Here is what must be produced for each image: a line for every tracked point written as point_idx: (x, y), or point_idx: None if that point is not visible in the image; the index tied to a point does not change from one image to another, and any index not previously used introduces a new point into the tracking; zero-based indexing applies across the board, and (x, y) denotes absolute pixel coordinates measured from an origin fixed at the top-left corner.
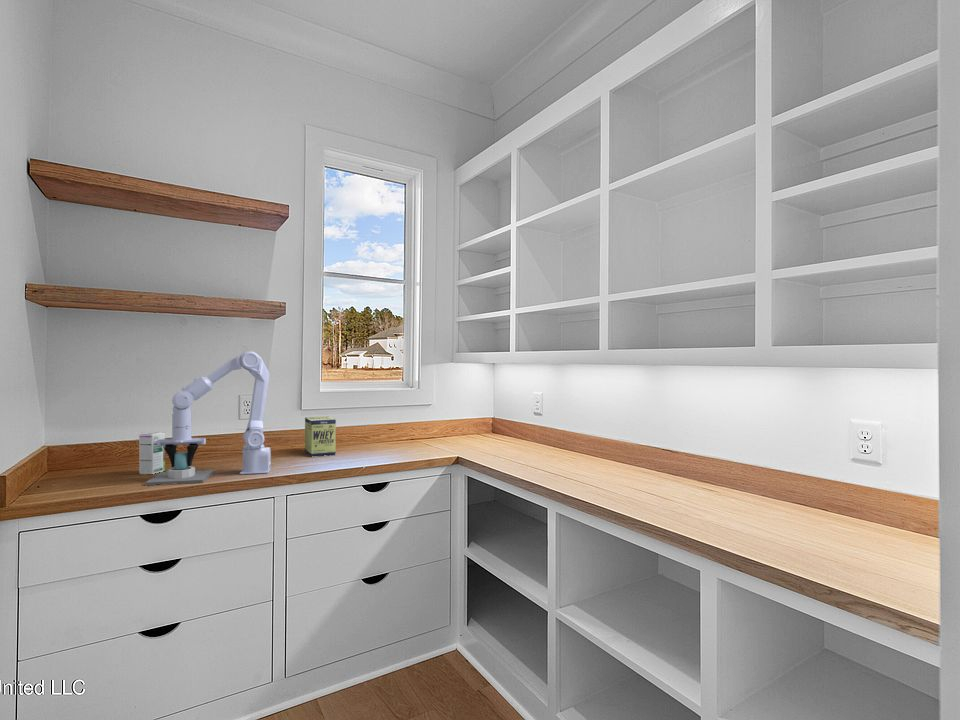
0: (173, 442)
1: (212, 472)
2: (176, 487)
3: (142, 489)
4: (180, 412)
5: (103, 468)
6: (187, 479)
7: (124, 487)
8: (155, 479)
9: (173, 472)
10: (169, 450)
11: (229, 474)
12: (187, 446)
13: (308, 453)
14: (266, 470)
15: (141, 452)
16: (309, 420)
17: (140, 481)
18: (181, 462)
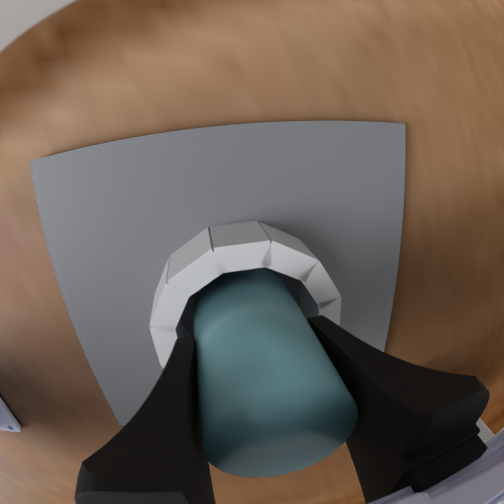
0: (442, 497)
1: (106, 394)
2: (167, 27)
3: (368, 25)
4: None
5: (496, 407)
6: (141, 175)
7: (462, 114)
8: (374, 209)
9: (279, 241)
10: (425, 390)
11: (21, 368)
12: (174, 492)
13: None
14: None
15: (488, 434)
16: None
17: (435, 245)
18: (240, 324)
